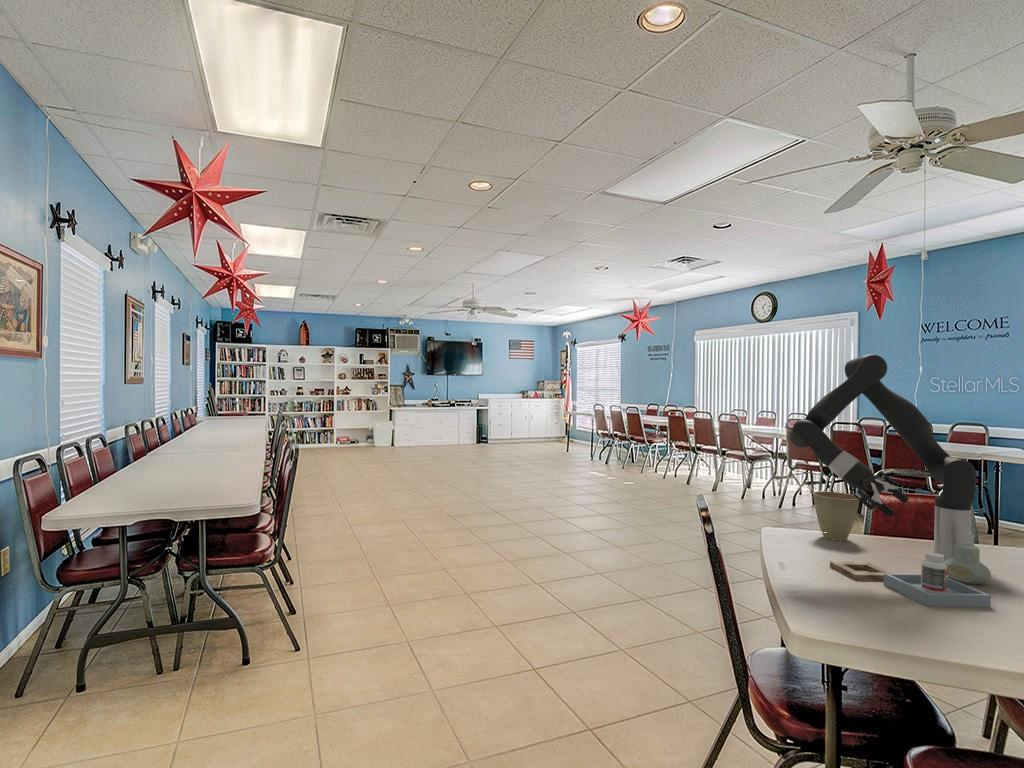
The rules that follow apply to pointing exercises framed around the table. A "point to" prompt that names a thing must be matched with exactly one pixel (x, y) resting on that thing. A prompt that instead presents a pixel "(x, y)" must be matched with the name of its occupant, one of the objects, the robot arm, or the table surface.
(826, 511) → the plant pot
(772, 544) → the table surface
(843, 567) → the walnut socket
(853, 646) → the table surface
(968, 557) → the air freshener
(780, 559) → the table surface
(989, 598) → the slate tray
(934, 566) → the pill bottle
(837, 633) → the table surface
